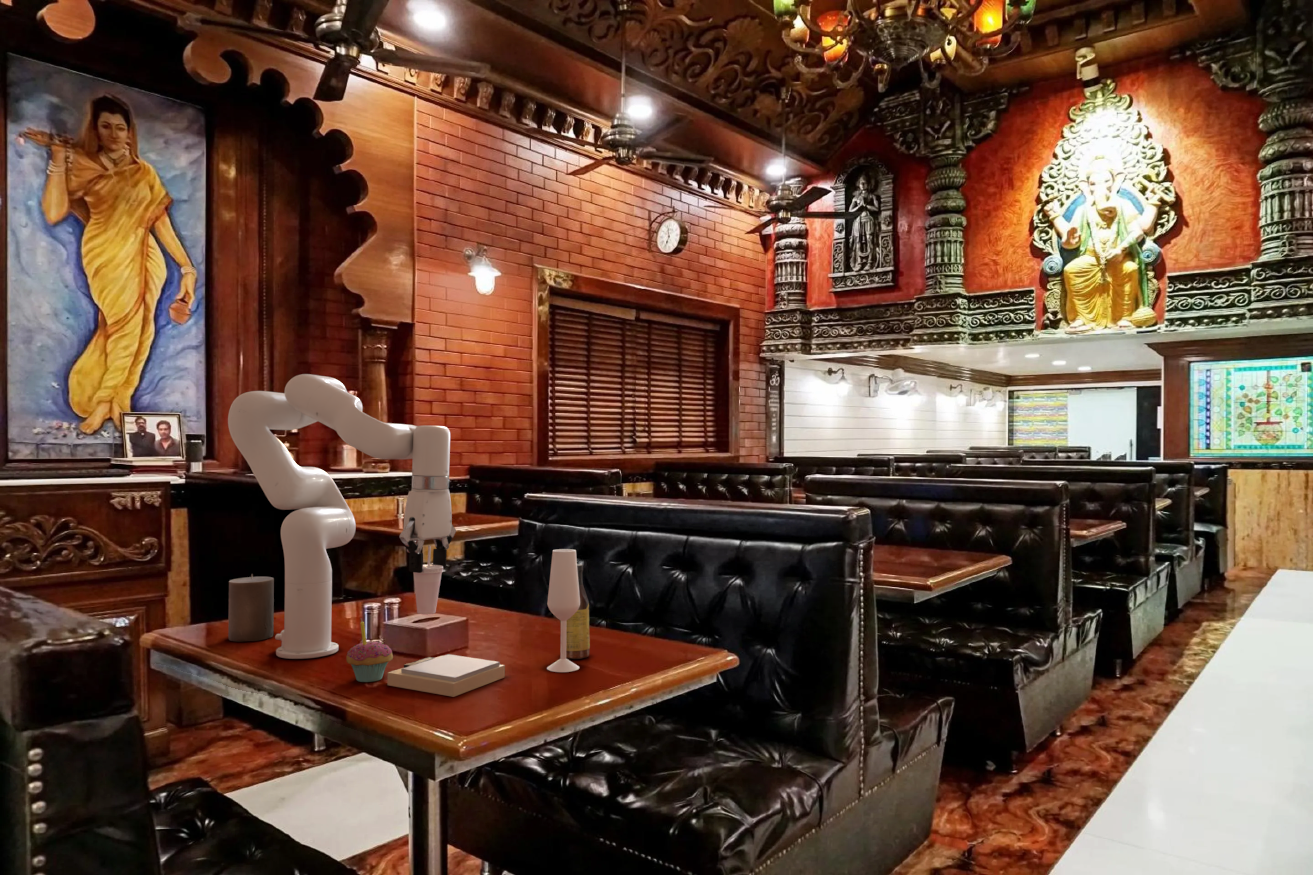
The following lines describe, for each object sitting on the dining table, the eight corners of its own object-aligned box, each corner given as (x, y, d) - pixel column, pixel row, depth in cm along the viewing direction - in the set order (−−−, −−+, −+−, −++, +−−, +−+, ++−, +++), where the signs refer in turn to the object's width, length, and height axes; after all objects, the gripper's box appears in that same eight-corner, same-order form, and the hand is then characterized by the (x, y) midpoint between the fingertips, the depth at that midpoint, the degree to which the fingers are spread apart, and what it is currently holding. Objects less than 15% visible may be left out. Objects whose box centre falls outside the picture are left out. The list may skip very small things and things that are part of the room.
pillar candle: (280, 637, 196) (281, 573, 196) (237, 644, 189) (238, 578, 189) (262, 631, 203) (263, 569, 203) (220, 637, 195) (221, 573, 196)
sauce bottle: (595, 656, 179) (596, 564, 180) (573, 661, 175) (574, 567, 175) (575, 651, 184) (576, 561, 184) (553, 656, 179) (554, 564, 180)
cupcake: (365, 687, 155) (366, 622, 155) (336, 680, 159) (337, 617, 160) (401, 677, 162) (402, 615, 162) (372, 670, 167) (373, 610, 167)
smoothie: (446, 610, 176) (448, 544, 177) (435, 616, 170) (437, 548, 170) (417, 609, 177) (419, 543, 177) (405, 615, 171) (407, 546, 171)
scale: (387, 685, 156) (387, 668, 156) (441, 667, 170) (442, 651, 170) (453, 696, 149) (453, 679, 149) (504, 677, 162) (505, 660, 162)
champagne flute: (549, 663, 173) (550, 548, 174) (581, 663, 173) (582, 548, 174) (544, 671, 167) (545, 552, 167) (577, 672, 166) (578, 552, 167)
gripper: (444, 482, 183) (442, 563, 183) (386, 484, 168) (383, 573, 168) (471, 484, 180) (468, 566, 180) (414, 486, 164) (411, 576, 164)
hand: (427, 569), depth 174 cm, fingers closed on smoothie, 6 cm apart
